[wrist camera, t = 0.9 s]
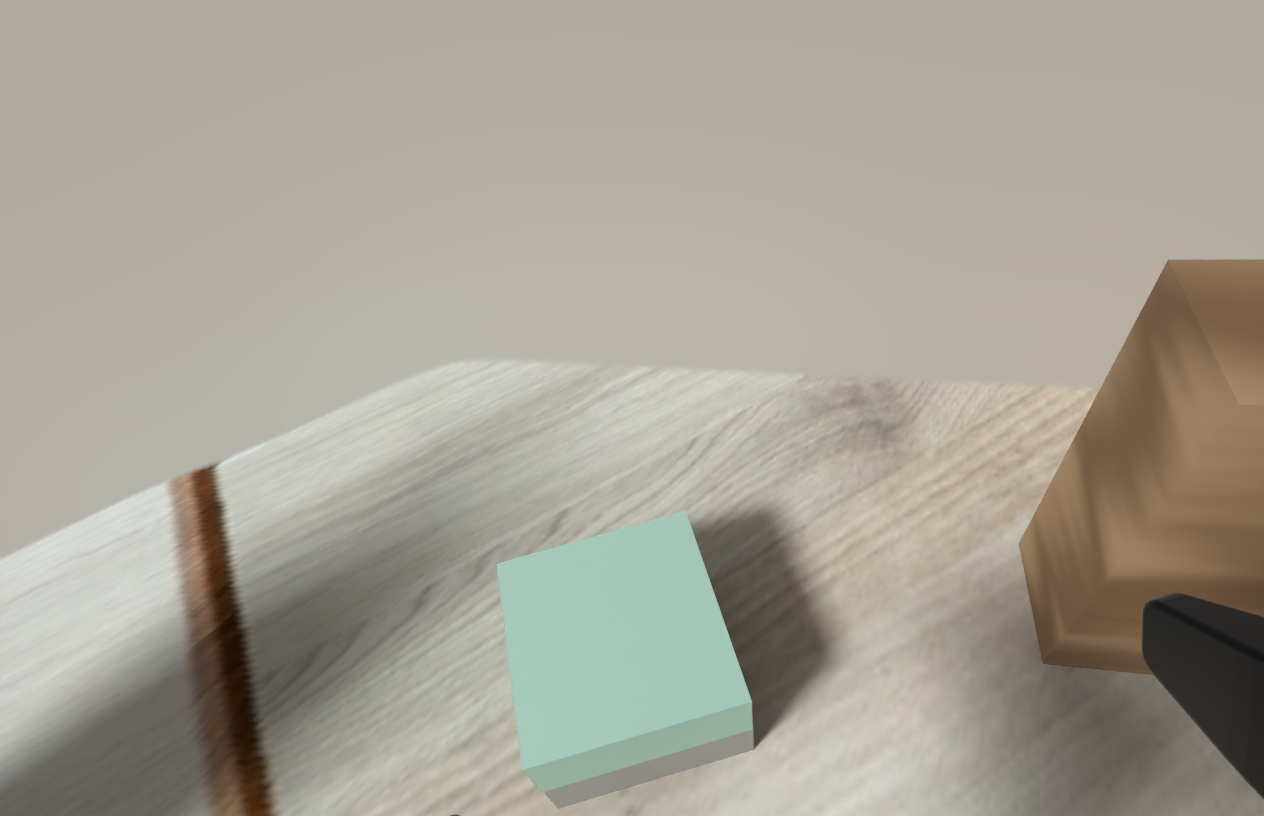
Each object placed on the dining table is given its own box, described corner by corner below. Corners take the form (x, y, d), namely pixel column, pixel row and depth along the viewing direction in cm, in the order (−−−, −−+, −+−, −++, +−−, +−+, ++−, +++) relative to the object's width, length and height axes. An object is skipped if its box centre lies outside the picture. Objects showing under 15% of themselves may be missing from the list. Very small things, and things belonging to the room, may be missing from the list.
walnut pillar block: (1198, 679, 23) (1523, 414, 13) (1042, 663, 24) (1238, 404, 14) (1156, 553, 26) (1397, 259, 16) (1019, 543, 27) (1168, 260, 17)
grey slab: (753, 751, 23) (753, 728, 22) (559, 810, 23) (542, 790, 21) (695, 577, 28) (691, 546, 26) (531, 625, 27) (515, 596, 26)
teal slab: (752, 729, 22) (752, 701, 20) (542, 792, 21) (521, 770, 19) (690, 546, 26) (685, 510, 24) (514, 596, 26) (496, 563, 24)
